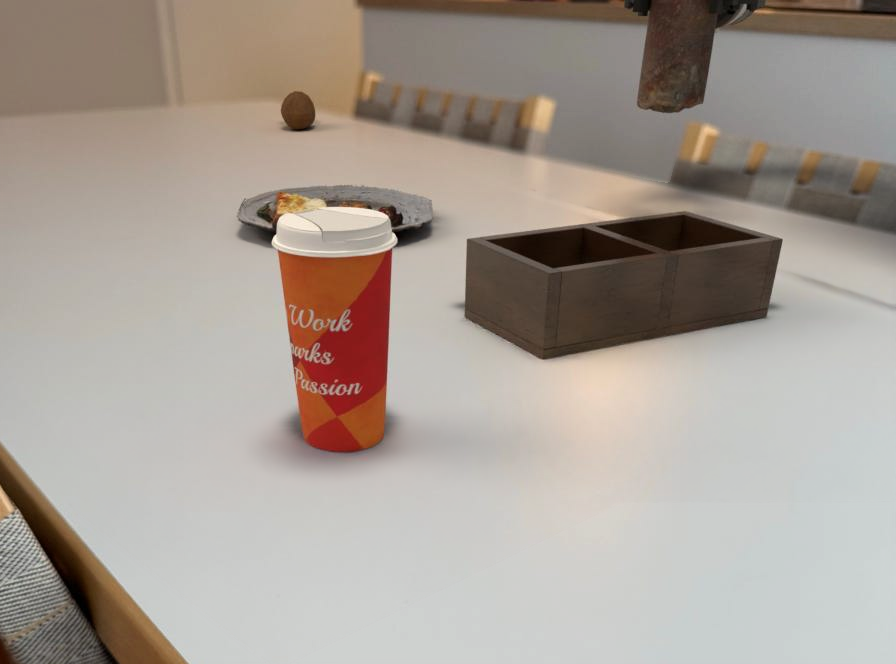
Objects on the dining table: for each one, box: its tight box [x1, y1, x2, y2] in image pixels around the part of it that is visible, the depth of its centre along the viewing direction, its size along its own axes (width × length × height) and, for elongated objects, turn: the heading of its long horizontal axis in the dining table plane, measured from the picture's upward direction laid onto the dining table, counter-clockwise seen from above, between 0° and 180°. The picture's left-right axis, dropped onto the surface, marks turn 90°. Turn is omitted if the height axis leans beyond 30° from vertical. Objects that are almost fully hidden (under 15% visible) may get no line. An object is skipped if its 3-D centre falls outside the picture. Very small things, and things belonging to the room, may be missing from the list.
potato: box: [280, 90, 316, 130], centre depth 183 cm, size 7×10×6 cm
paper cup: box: [271, 207, 398, 453], centre depth 62 cm, size 8×8×14 cm
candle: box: [636, 0, 718, 114], centre depth 103 cm, size 8×7×20 cm
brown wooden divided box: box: [464, 210, 784, 360], centre depth 86 cm, size 25×13×7 cm, turn 118°
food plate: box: [236, 183, 434, 233], centre depth 116 cm, size 25×23×4 cm
